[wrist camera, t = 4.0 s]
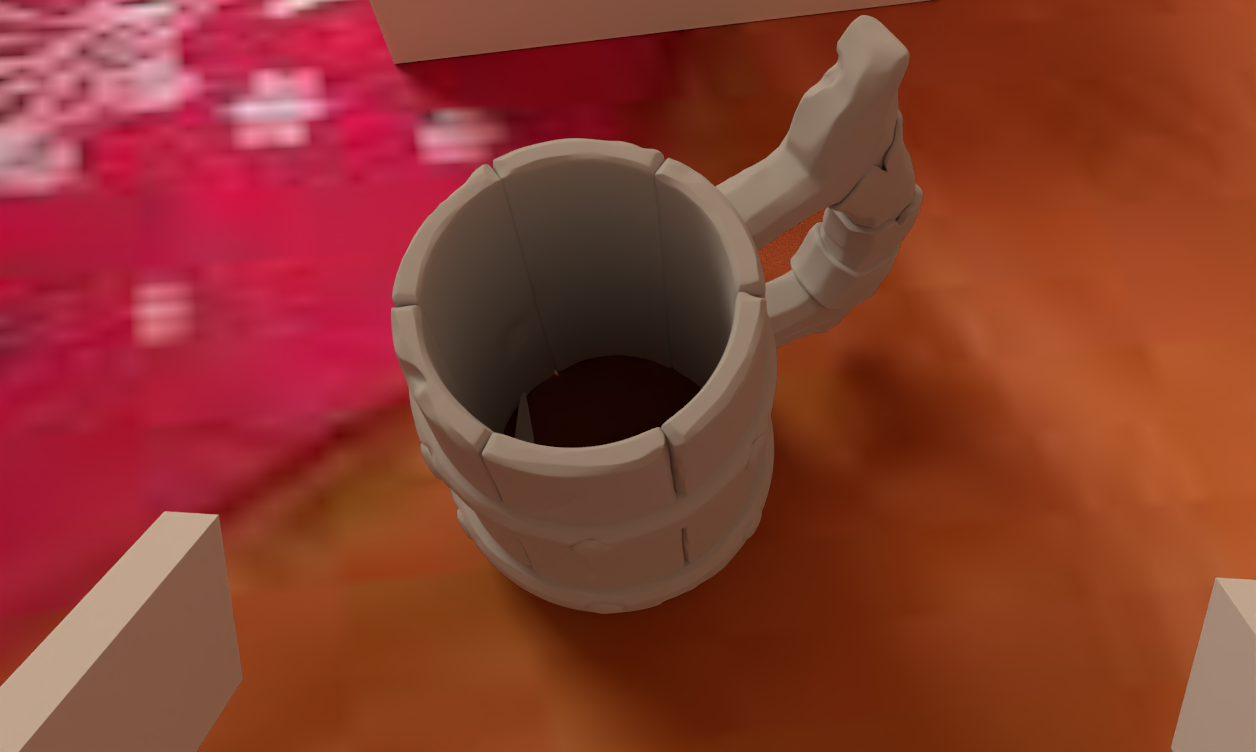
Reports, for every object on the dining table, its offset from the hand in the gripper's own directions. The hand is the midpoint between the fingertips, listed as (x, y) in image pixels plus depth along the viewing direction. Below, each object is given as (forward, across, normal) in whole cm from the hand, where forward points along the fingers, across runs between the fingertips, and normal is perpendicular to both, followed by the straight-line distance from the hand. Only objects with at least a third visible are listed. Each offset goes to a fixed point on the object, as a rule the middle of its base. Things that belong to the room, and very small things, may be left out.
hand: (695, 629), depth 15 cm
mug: (+13, -1, -3) cm, 14 cm away
